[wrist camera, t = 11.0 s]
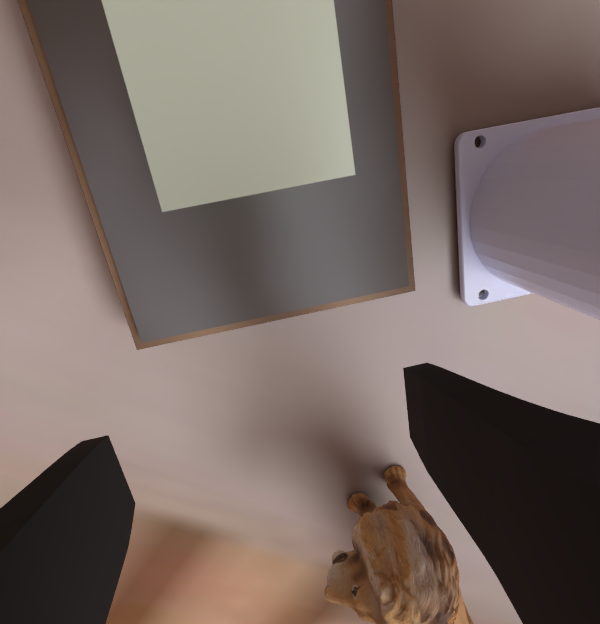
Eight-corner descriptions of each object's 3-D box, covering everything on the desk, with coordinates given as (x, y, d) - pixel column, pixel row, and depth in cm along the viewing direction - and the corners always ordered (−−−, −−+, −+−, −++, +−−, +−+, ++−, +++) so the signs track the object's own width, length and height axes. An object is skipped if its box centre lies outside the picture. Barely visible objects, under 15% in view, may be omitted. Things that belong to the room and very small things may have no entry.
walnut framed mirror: (356, -157, 14) (379, -222, 12) (397, 278, 20) (419, 293, 17) (3, -113, 13) (-48, -174, 11) (147, 331, 19) (134, 354, 16)
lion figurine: (290, 470, 22) (321, 648, 14) (371, 417, 22) (453, 568, 14) (411, 609, 27) (487, 802, 19) (479, 568, 27) (588, 747, 19)
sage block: (295, 17, 14) (325, -65, 9) (319, 174, 15) (355, 174, 11) (144, 42, 13) (93, -30, 9) (186, 200, 15) (162, 212, 10)
